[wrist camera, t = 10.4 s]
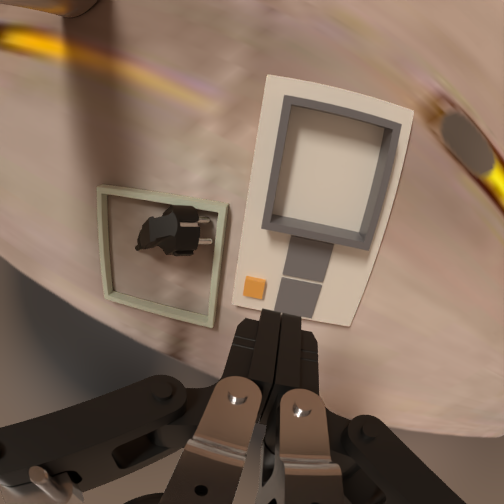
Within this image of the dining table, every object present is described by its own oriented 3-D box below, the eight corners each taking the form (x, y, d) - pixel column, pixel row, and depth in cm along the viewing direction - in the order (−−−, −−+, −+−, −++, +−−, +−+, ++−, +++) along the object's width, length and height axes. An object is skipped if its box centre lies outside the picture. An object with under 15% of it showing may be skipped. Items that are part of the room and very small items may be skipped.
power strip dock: (268, 76, 28) (264, 69, 24) (409, 111, 27) (424, 110, 23) (233, 298, 40) (226, 318, 36) (348, 319, 39) (352, 341, 35)
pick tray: (102, 184, 36) (96, 186, 35) (228, 203, 35) (226, 207, 33) (109, 293, 44) (104, 298, 42) (214, 321, 42) (212, 328, 41)
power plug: (130, 228, 39) (154, 196, 29) (180, 228, 43) (219, 199, 33) (133, 269, 38) (158, 250, 28) (184, 266, 42) (225, 249, 33)
